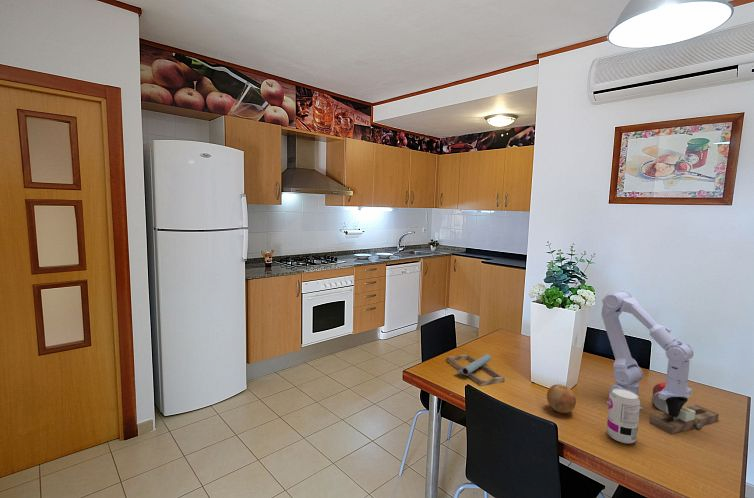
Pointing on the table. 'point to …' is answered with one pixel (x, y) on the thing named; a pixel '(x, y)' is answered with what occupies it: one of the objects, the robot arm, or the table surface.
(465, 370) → the aluminum foil
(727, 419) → the table surface
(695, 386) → the table surface
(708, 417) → the wooden slotted frame
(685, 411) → the rider
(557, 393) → the onion
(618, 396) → the supplement can
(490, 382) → the foil cradle
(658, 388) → the canned food
